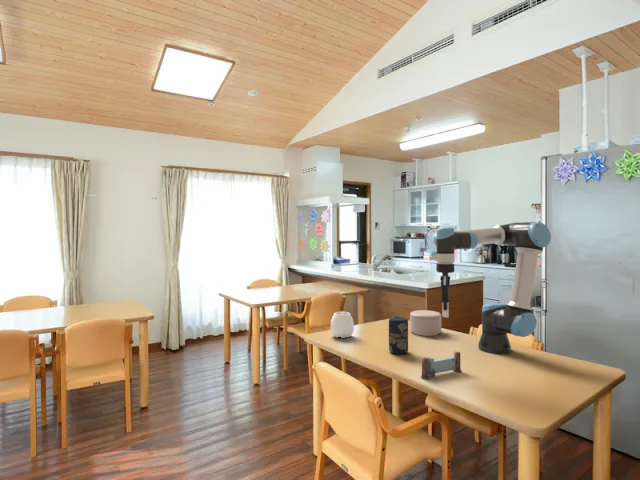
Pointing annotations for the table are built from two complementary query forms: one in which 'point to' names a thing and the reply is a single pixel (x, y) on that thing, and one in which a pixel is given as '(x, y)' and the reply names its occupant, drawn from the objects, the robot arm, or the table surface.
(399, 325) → the canister
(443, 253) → the robot arm
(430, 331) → the container
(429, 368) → the gate
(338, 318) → the cup
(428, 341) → the table surface
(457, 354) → the gateposts
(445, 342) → the table surface
